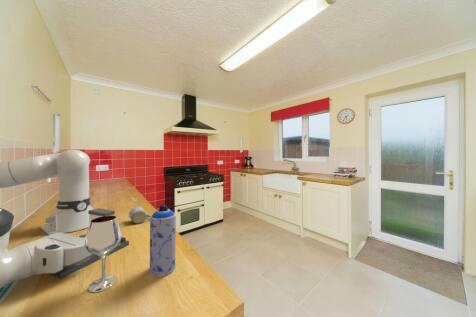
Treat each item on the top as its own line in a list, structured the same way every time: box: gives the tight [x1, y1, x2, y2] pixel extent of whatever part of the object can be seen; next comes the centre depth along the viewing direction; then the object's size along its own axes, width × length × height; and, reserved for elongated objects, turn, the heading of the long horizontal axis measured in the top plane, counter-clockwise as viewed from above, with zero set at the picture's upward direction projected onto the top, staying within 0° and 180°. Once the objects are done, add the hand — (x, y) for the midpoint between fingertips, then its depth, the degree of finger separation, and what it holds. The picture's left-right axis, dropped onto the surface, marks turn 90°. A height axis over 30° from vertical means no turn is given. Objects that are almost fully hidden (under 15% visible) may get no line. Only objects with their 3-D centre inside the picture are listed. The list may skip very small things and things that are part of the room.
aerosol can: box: [148, 204, 177, 278], centre depth 54 cm, size 8×8×20 cm
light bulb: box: [128, 205, 152, 224], centre depth 95 cm, size 11×8×8 cm
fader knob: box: [88, 207, 116, 224], centre depth 65 cm, size 9×3×13 cm, turn 70°
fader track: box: [46, 236, 130, 280], centre depth 61 cm, size 12×21×2 cm, turn 160°
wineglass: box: [84, 215, 123, 293], centre depth 48 cm, size 8×8×18 cm
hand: (93, 235), depth 62 cm, fingers closed
